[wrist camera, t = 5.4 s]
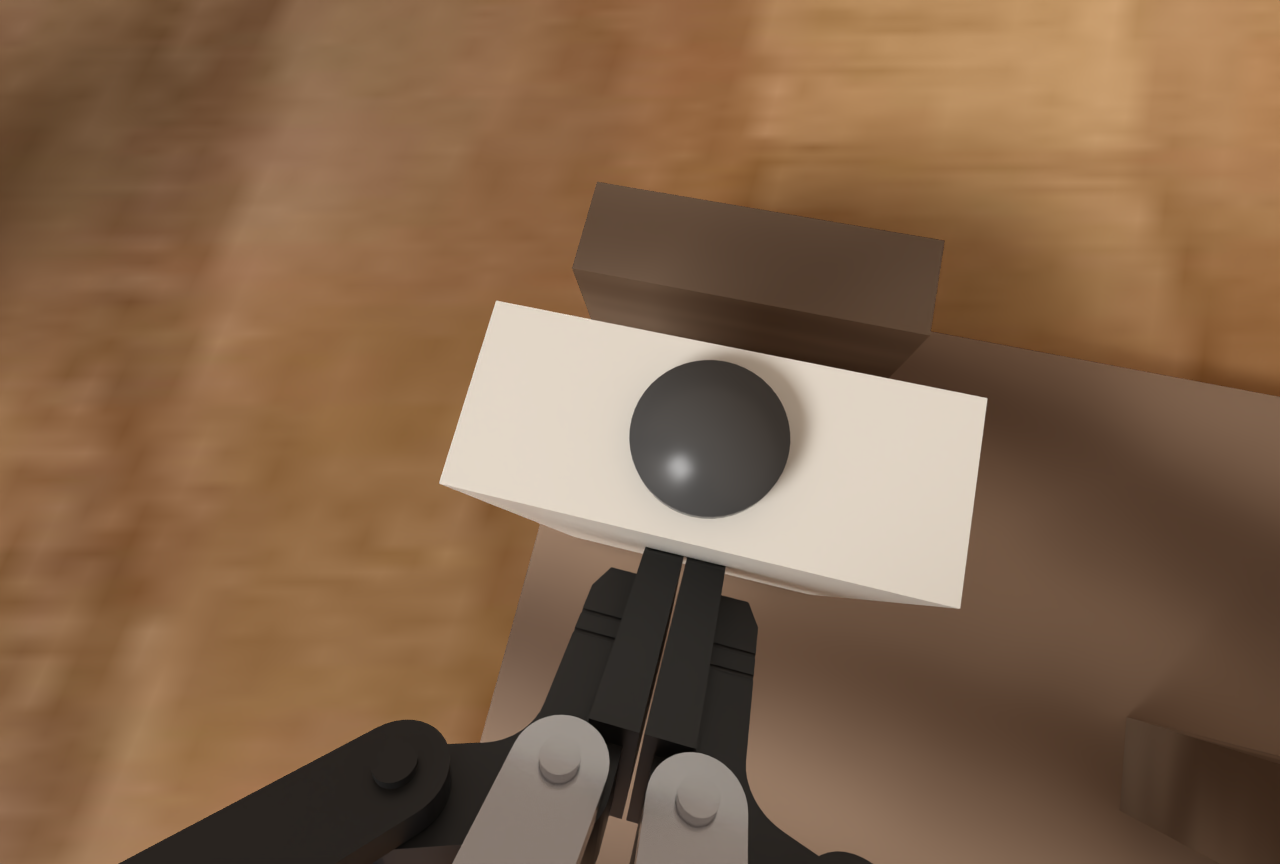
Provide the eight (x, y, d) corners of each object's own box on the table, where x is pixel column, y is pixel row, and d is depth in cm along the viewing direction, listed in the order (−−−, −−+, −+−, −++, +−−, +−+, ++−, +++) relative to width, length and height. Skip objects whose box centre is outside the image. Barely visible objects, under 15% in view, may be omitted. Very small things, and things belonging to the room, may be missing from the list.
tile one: (808, 594, 15) (972, 609, 6) (574, 537, 16) (429, 479, 7) (825, 499, 16) (1000, 391, 7) (597, 447, 17) (488, 289, 8)
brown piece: (1433, 1404, 13) (2176, 2225, 6) (415, 1034, 15) (225, 1346, 9) (1414, 447, 17) (1849, 366, 10) (615, 294, 20) (580, 157, 13)
